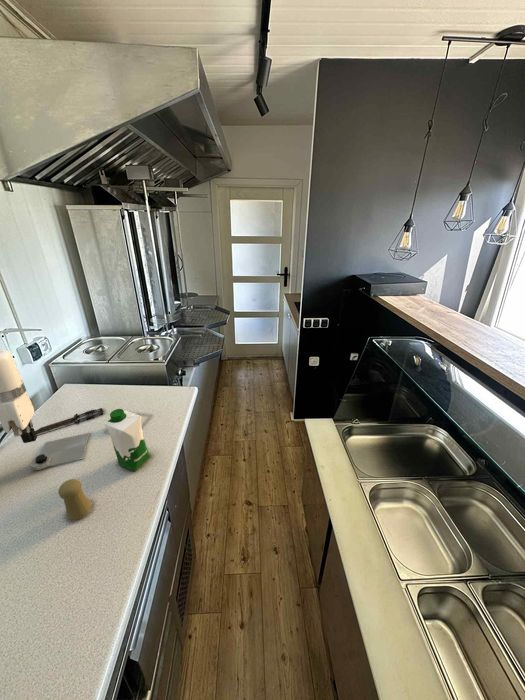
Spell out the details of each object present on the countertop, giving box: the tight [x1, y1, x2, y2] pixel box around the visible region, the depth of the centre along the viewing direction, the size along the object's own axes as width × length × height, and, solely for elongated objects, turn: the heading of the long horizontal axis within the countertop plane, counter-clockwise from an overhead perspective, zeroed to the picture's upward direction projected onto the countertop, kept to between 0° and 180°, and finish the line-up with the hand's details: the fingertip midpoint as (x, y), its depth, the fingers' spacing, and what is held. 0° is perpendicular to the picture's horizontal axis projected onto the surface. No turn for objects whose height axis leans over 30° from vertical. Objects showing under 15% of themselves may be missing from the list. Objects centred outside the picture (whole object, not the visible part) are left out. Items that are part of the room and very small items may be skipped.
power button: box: [34, 453, 46, 464], centre depth 95 cm, size 3×3×2 cm
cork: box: [58, 478, 93, 522], centre depth 79 cm, size 6×6×11 cm
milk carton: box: [104, 408, 151, 472], centre depth 93 cm, size 9×9×20 cm
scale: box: [30, 432, 90, 471], centre depth 100 cm, size 15×14×2 cm
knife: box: [35, 407, 104, 436], centre depth 115 cm, size 25×6×1 cm, turn 118°
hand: (30, 440), depth 90 cm, fingers closed
